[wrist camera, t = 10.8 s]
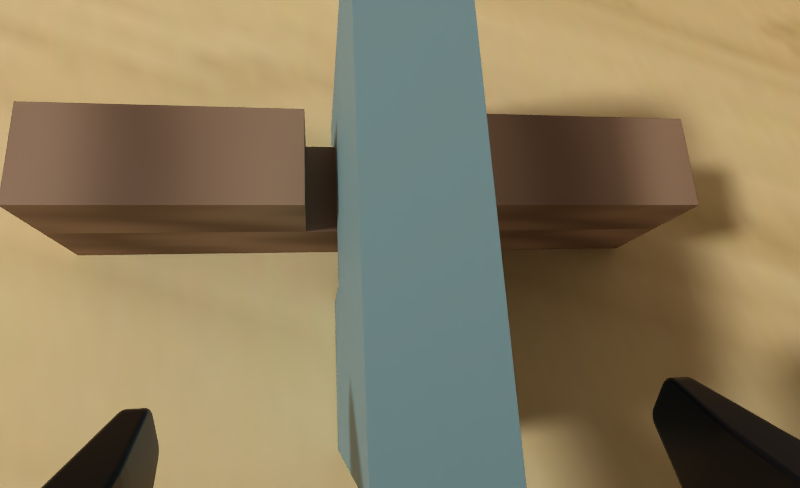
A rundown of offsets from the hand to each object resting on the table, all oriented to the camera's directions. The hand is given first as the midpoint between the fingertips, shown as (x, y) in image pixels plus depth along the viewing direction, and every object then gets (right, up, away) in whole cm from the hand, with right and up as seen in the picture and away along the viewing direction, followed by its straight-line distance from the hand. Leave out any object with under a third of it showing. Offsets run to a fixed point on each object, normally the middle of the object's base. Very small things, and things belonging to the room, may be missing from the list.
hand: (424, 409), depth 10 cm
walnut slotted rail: (-2, +4, +11) cm, 12 cm away
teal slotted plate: (-2, +2, +11) cm, 11 cm away
